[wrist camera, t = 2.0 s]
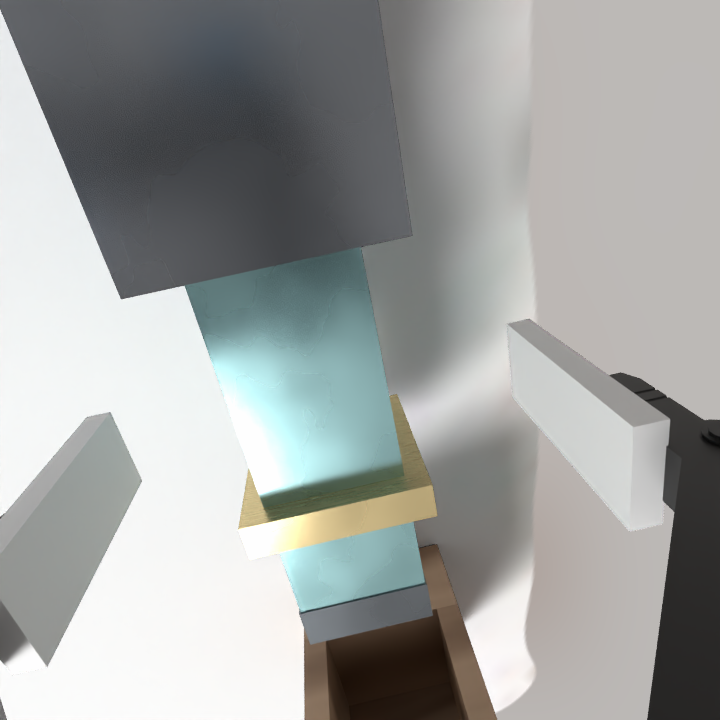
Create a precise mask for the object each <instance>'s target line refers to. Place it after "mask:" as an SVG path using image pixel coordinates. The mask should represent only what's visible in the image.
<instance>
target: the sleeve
mask: <svg viewBox="0 0 720 720" xmlns="http://www.w3.org/2000/svg"><path fill="white" fill-rule="evenodd" d="M0 10H1V12H2V14H3V17H4V19H5V22H6V24H7V26H8V29H9V31H10V34H11V36H12V38H13V41H14V43H15V46H16V48H17V50H18V53H19V55H20V58H21V60H22V62H23V65H24V67H25V70H26V72H27V74H28V77H29V79H30V82H31V84H32V86H33V89H34V91H35V94H36V96H37V98H38V101H39V103H40V106H41V108H42V110H43V113H44V115H45V118H46V120H47V123H48V125H49V127H50V130H51V132H52V135H53V137H54V139H55V142H56V144H57V147H58V149H59V151H60V154H61V156H62V159H63V161H64V163H65V166H66V168H67V171H68V173H69V175H70V178H71V180H72V183H73V185H74V187H75V190H76V192H77V195H78V197H79V199H80V202H81V204H82V207H83V209H84V211H85V214H86V216H87V219H88V221H89V223H90V226H91V228H92V231H93V233H94V235H95V238H96V240H97V243H98V245H99V247H100V250H101V252H102V255H103V257H104V259H105V262H106V264H107V267H108V269H109V271H110V274H111V276H112V279H113V281H114V283H115V286H116V288H117V291H118V293H119V295H120V298H121V299H125V298H129V297H134V296H138V295H143V294H148V293H152V292H157V291H161V290H166V289H170V288H175V287H180V286H184V285H189V284H193V283H198V282H203V281H207V280H212V279H216V278H221V277H225V276H230V275H235V274H239V273H244V272H248V271H253V270H258V269H262V268H267V267H271V266H276V265H280V264H285V263H290V262H294V261H299V260H303V259H308V258H312V257H317V256H322V255H326V254H331V253H335V252H340V251H345V250H349V249H354V248H358V247H363V246H367V245H372V244H377V243H381V242H386V241H390V240H395V239H399V238H404V237H409V236H412V230H411V223H410V216H409V210H408V203H407V196H406V189H405V182H404V175H403V169H402V162H401V155H400V148H399V141H398V134H397V128H396V121H395V114H394V107H393V100H392V93H391V86H390V80H389V73H388V66H387V59H386V52H385V45H384V39H383V32H382V25H381V18H380V11H379V4H378V0H0Z"/></svg>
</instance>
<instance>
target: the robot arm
mask: <svg viewBox="0 0 720 720" xmlns="http://www.w3.org/2000/svg"><path fill="white" fill-rule="evenodd" d="M507 335H508V348H509V361H510V374H511V386H512V397H513V399H514V400H515V401H516V402H517V403H518V404H519V405H520V407H521V408H522V409H523V410H524V411H525V412H526V413H527V415H528V416H529V417H530V418H531V419H532V420H533V421H534V423H535V424H536V425H537V426H538V427H539V428H540V430H541V431H542V432H543V433H544V434H545V435H546V436H547V438H548V439H549V440H550V441H551V442H552V443H553V444H554V446H555V447H556V448H557V449H558V450H559V451H560V452H561V454H562V455H563V456H564V457H565V458H566V459H567V460H568V462H569V463H570V464H571V465H572V466H573V467H574V469H575V470H576V471H577V472H578V473H579V474H580V475H581V477H582V478H583V479H584V480H585V481H586V482H587V483H588V485H589V486H590V487H591V488H592V489H593V490H594V492H595V493H596V494H597V495H598V496H599V497H600V498H601V500H602V501H603V502H604V503H605V504H606V505H607V506H608V508H609V509H610V510H611V511H612V512H613V513H614V514H615V516H616V517H617V518H618V519H619V520H620V521H621V522H622V523H623V525H624V526H625V527H626V528H627V529H628V530H629V532H630V531H635V530H640V529H644V528H648V527H652V526H657V525H661V524H663V514H664V502H665V503H666V504H667V505H668V506H669V507H670V508H671V509H672V510H673V511H674V512H675V513H674V520H673V528H672V536H671V543H670V551H669V559H668V566H667V574H666V582H665V589H664V597H663V604H662V612H661V620H660V627H659V635H658V642H657V650H656V657H655V665H654V673H653V680H652V688H651V695H650V703H649V711H648V718H647V720H720V420H703V419H701V418H700V417H698V416H697V415H695V414H694V413H692V412H691V411H689V410H688V409H686V408H685V407H683V406H682V405H680V404H678V403H677V402H675V401H674V400H672V399H671V398H667V397H666V395H665V394H663V393H662V392H660V391H659V390H655V388H654V387H652V386H651V385H649V384H648V383H646V382H645V381H643V380H642V379H640V378H637V377H633V376H630V375H627V374H624V373H617V374H612V375H608V374H606V373H605V372H603V371H602V370H600V369H599V368H598V367H596V366H595V365H594V364H592V363H591V362H589V361H588V360H586V359H585V358H583V357H582V356H581V355H580V354H578V353H577V352H575V351H574V350H572V349H571V348H570V347H568V346H567V345H565V344H564V343H563V342H561V341H560V340H558V339H557V338H556V337H554V336H553V335H551V334H550V333H549V332H547V331H546V330H544V329H543V328H541V327H540V326H539V325H537V324H536V323H534V322H533V321H532V320H530V319H526V320H522V321H517V322H513V323H509V324H507ZM141 482H142V480H141V477H140V475H139V473H138V471H137V469H136V467H135V464H134V462H133V460H132V458H131V456H130V454H129V451H128V449H127V447H126V445H125V443H124V441H123V438H122V436H121V434H120V432H119V430H118V428H117V425H116V423H115V421H114V419H113V417H112V415H111V412H108V413H104V414H99V415H95V416H91V417H87V418H86V419H85V420H84V421H83V422H82V424H81V425H80V426H79V427H78V428H77V429H76V431H75V432H74V433H73V434H72V435H71V436H70V438H69V439H68V440H67V441H66V442H65V444H64V445H63V446H62V447H61V448H60V449H59V451H58V452H57V453H56V454H55V455H54V456H53V458H52V459H51V460H50V461H49V462H48V464H47V465H46V466H45V467H44V468H43V469H42V471H41V472H40V473H39V474H38V475H37V476H36V478H35V479H34V480H33V481H32V482H31V484H30V485H29V486H28V487H27V488H26V489H25V491H24V492H23V493H22V494H21V495H20V496H19V498H18V499H17V500H16V501H15V502H14V504H13V505H12V506H11V507H10V508H9V509H8V511H7V512H6V513H5V514H3V515H2V516H1V517H0V660H1V661H2V662H3V664H4V665H5V666H6V668H7V669H8V671H9V672H10V673H11V675H16V674H20V673H25V672H29V671H33V670H38V669H42V668H46V667H47V666H48V664H49V663H50V661H51V659H52V657H53V655H54V653H55V651H56V649H57V647H58V645H59V643H60V641H61V639H62V637H63V635H64V633H65V631H66V629H67V627H68V625H69V623H70V621H71V619H72V617H73V615H74V613H75V611H76V610H77V608H78V606H79V604H80V602H81V600H82V598H83V596H84V594H85V592H86V590H87V588H88V586H89V584H90V582H91V580H92V578H93V576H94V574H95V572H96V570H97V568H98V566H99V564H100V562H101V560H102V558H103V557H104V555H105V553H106V551H107V549H108V547H109V545H110V543H111V541H112V539H113V537H114V535H115V533H116V531H117V529H118V527H119V525H120V523H121V521H122V519H123V517H124V515H125V513H126V511H127V509H128V507H129V505H130V504H131V502H132V500H133V498H134V496H135V494H136V492H137V490H138V488H139V486H140V484H141ZM0 720H7V719H6V715H5V712H4V709H3V706H2V702H1V699H0Z"/></svg>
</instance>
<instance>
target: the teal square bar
mask: <svg viewBox="0 0 720 720" xmlns="http://www.w3.org/2000/svg"><path fill="white" fill-rule="evenodd" d="M185 288H186V291H187V293H188V296H189V299H190V302H191V305H192V308H193V310H194V313H195V316H196V319H197V322H198V324H199V327H200V330H201V333H202V336H203V339H204V341H205V344H206V347H207V350H208V353H209V355H210V358H211V361H212V364H213V367H214V370H215V372H216V375H217V378H218V381H219V384H220V386H221V389H222V392H223V395H224V398H225V401H226V403H227V406H228V409H229V412H230V415H231V417H232V420H233V423H234V426H235V429H236V432H237V434H238V437H239V440H240V443H241V446H242V448H243V451H244V454H245V457H246V460H247V463H248V465H249V469H248V475H247V481H246V487H245V493H244V499H243V505H242V510H241V516H240V522H239V528H238V530H239V533H240V535H241V538H242V541H243V543H244V546H245V548H246V551H247V553H248V556H249V558H250V559H255V558H259V557H263V556H268V555H272V554H276V553H280V556H281V558H282V561H283V564H284V567H285V570H286V572H287V575H288V578H289V581H290V584H291V587H292V589H293V592H294V595H295V598H296V601H297V603H298V606H299V615H300V617H301V620H302V623H303V626H304V629H305V631H306V634H307V637H308V640H309V643H310V645H311V644H316V643H320V642H324V641H328V640H333V639H337V638H341V637H345V636H349V635H354V634H358V633H362V632H366V631H371V630H375V629H379V628H383V627H387V626H392V625H396V624H400V623H404V622H409V621H413V620H417V619H421V618H425V617H430V616H433V613H432V608H431V602H430V597H429V592H428V587H427V582H426V579H425V576H424V572H423V569H422V564H421V558H420V553H419V548H418V543H417V538H416V532H415V527H414V521H419V520H423V519H427V518H431V517H436V516H437V509H436V503H435V497H434V491H433V485H432V482H431V480H430V477H429V475H428V472H427V470H426V467H425V464H424V462H423V459H422V457H421V454H420V452H419V449H418V447H417V444H416V441H415V439H414V436H413V434H412V431H411V429H410V426H409V423H408V421H407V418H406V416H405V413H404V411H403V408H402V405H401V403H400V400H399V398H398V395H397V394H395V395H390V396H389V392H388V386H387V381H386V376H385V371H384V366H383V360H382V355H381V350H380V345H379V340H378V334H377V329H376V324H375V319H374V313H373V308H372V303H371V298H370V293H369V287H368V282H367V277H366V272H365V267H364V261H363V256H362V251H361V247H358V248H354V249H349V250H345V251H340V252H335V253H331V254H326V255H322V256H317V257H312V258H308V259H303V260H299V261H294V262H290V263H285V264H280V265H276V266H271V267H267V268H262V269H258V270H253V271H248V272H244V273H239V274H235V275H230V276H225V277H221V278H216V279H212V280H207V281H203V282H198V283H193V284H189V285H185Z"/></svg>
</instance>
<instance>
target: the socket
mask: <svg viewBox="0 0 720 720" xmlns="http://www.w3.org/2000/svg"><path fill="white" fill-rule="evenodd" d="M419 553H420V558H421V564H422V569H423V572H424V576H425V579H426V582H427V587H428V592H429V597H430V602H431V608H432V613H433V616H430V617H425V618H421V619H417V620H413V621H409V622H404V623H400V624H396V625H392V626H387V627H383V628H379V629H375V630H371V631H366V632H362V633H358V634H354V635H349V636H345V637H341V638H337V639H333V640H328V641H324V642H320V643H316V644H311V645H310V643H309V640H308V637H307V634H306V631H305V629H304V691H305V720H497V718H496V715H495V712H494V709H493V706H492V703H491V700H490V697H489V694H488V692H487V689H486V686H485V683H484V680H483V677H482V674H481V671H480V668H479V665H478V662H477V659H476V657H475V654H474V651H473V648H472V645H471V642H470V639H469V636H468V633H467V630H466V627H465V624H464V621H463V619H462V616H461V613H460V610H459V607H458V604H457V601H456V598H455V595H454V592H453V589H452V586H451V584H450V581H449V578H448V575H447V572H446V569H445V566H444V563H443V560H442V557H441V554H440V551H439V549H438V546H437V544H435V545H431V546H427V547H423V548H419Z"/></svg>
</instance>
